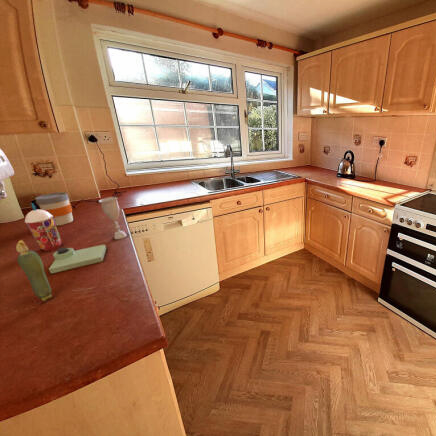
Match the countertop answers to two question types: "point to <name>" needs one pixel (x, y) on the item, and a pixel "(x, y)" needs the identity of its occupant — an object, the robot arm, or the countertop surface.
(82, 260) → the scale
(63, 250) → the tare button
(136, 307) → the countertop surface
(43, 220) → the smoothie
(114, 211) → the chalice
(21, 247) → the vegetable
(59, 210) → the reusable coffee cup
